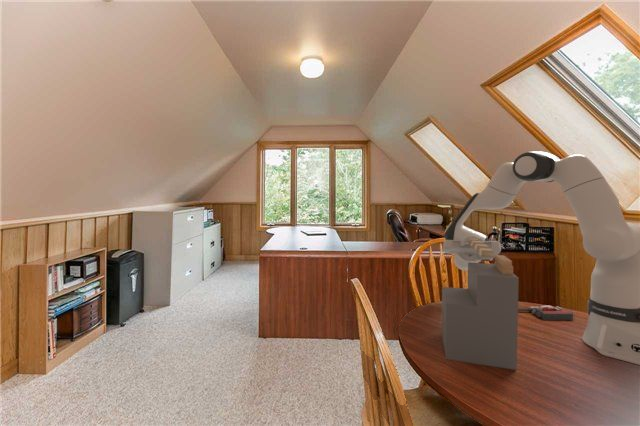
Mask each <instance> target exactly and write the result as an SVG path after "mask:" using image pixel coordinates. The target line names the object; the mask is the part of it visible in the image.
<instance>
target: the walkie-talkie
mask: <svg viewBox="0 0 640 426" xmlns="http://www.w3.org/2000/svg"><path fill="white" fill-rule="evenodd" d="M518 312H531V314H533V315H535V316H536V317H537V318H540V319H541V320H545V321H573V320H574V312H573V311H571V310H569V309H567V308H565V307H560V306H558V305H557V306H556V307H554V306H552V305H549V304H548V305H546V304H545V305H539V306H530V307H528V308H527V307H526V308H524V307H523V308H522V307H520V308H519V307H518Z"/></svg>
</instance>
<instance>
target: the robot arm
mask: <svg viewBox="0 0 640 426" xmlns="http://www.w3.org/2000/svg"><path fill="white" fill-rule="evenodd" d="M528 182H531V183H552V182H556V183H557V185H558V186H559V188H560V190H561V191H562V193H563V195H564V197H565V198H566V200H567V201H568V204H569V205H570V207H571V209H572V211H573V213H574V214H575V217H576V220H577V224H578V227H579V230H580V233H581V235H582V247H583V250H584V251H585V252H586V253H587V254H588V255H589V256H591V257H592V258H594V259H596V261H595V265H594V267H593V270H592V272H591V277H590V296H589V297H588V300H587V316H588V318H587V322H586V323H587V324H586V327H585V330H584V332H583V335H582V337H581V339H582V341H583V343H585V344H586V345H587V346H590V348H593V349H594V350H596V351H597V352H598V353H600V354H601V355H602V356H605V357H610V358H612V359H615V360H621V361H624V362H627V363H632V364H635V365H638V366H640V225H638V224H636V223H631V222H627V221H626V219H625V217H624V214H623V211H622V209H621V206H620V200H619V197H618V196H617V195H616V193H615V192H614V191H613V189H612V187H611V185H610V184H609V182H608V181H607V179H606V178H605V176H604V175H603V173H602V172H601V171H600V169H599V168H598V167H597V166H596V164H595V163H594V162H592V160H590V159H589V157H587V156H586V155H583V154H572V155H568V156H566V157H563V158H562V157H561V156H559V155H558V154H557V155H556V154H552V153H550V152H545V151H536V150H534V151H533V150H532V151H527V152H523V153H521V154H519V155H518V156H517V157H516V158H515V159H514V161H513V162H512V161H510V162H509V161H507V162H504V163H502V164H501V165H499V167H498V168H497V169H496V171H495V173H493V175H492V177H491V178H490V180H489V182H488V184H487V186H486V187H485V188H484V190H482V191H481V192H475V193H474V194H473V195H472V196H471V197H470V198H469V200H468V201H466V203H465V204H464V206H463V207H462V209H461V210H460V211H459V213H458V214H457V215H456V217H455V218H454V220H453V221H452V222H451V223H450V224H449V225H448V226H447V227H446V229H445V230H444V234H443V237H444V239H445V240H443V246H442V247H441V251H442V252H444V253H445V254H448V255H454V257H453V258H454V259H453V263H454V265H455V266H456V268H458V269H459V270H461V271H468V262H469V263H482V262H490V261H493V260H494V258H495V255H500V253H501V251H502V246H501V244H502V243H501V242H500V241H494V240H493V241H492V240H491V241H490V239H489V237H488V236H487V234H484V233H481V232H479V231H477V230H475V229H472V228H470V227H468V226H466V225H464V223H465V222H466V220H467V219H468V217H469V216H470V215H471V213H472V212H474V211H476V210H482V209H483V210H494V211H495V210H503V209H505V208H507V207H509V206H511V204H513V202H514V201H515V199H516V197H517V196H518V194H519V192H520V190H521V188H522V187H523V185H524V184H526V183H528ZM468 237H476V238H478V239H479V240H480V241H481V242H483V243H484V244H485V245H487V246H488V247H489V248H490V249H492V250H493V257H482V256H481V255H480V254H479V253H478V252H477V251H476V250H475V249H474V248H473V247H472V246H471V245H470V244H469V238H468Z"/></svg>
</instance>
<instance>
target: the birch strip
mask: <svg viewBox="0 0 640 426" xmlns="http://www.w3.org/2000/svg"><path fill="white" fill-rule="evenodd" d="M468 238H469V244H470V245H471V246H472V247H473V248H474V249H475V250H476V251H477V252H478V253H479V254H480V255H481V256H482V257H493V250H492V249H490V248H489V247H488V246H487V245H485V244H484V243H483V242H481V241H480V240H479V239H478V238H476V237H468ZM493 258H494V257H493Z"/></svg>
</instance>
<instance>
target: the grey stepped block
mask: <svg viewBox="0 0 640 426" xmlns="http://www.w3.org/2000/svg"><path fill="white" fill-rule="evenodd" d="M512 264H513V260H511V259H510V258H509V257H507V256H506V255H504V254H502V255H501V254H498V255H495V257H494V263H485V262H483V263H482V262H477V263H469V262H468V270H467V288H464V287H463V288H461V287H450V286H442V287H441V337H442V338H441V339H442V344H443V350H444V355H445V360H450V361H456V362H462V363H467V364H475V365H481V366H487V367H488V366H489V367H494V368H502V369H507V370H515V371H517V370H518V369H517V367H518V364H517V363H518V362H517V360H518V331H519V330H518V327H519V325H518V323H519V319H518V318H519V311H518V308H519V281H520V280H519V279H520V278H519V276H517V275H516V274H515V273H514V265H512Z"/></svg>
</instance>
